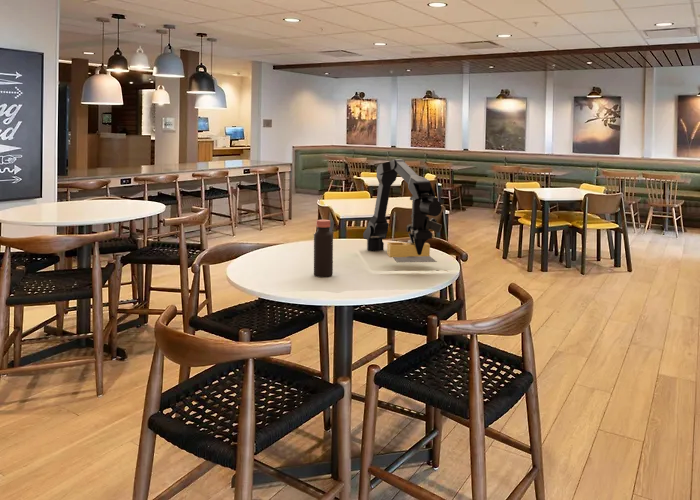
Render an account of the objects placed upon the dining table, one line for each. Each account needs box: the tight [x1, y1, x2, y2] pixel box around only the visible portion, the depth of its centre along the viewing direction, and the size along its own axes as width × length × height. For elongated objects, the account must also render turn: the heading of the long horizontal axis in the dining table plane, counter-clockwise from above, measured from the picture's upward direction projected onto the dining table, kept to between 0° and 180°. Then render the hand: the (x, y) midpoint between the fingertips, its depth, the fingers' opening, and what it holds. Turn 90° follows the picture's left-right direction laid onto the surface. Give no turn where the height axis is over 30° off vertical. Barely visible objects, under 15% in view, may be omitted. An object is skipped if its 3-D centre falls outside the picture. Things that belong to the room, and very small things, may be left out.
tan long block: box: [386, 241, 431, 258], centre depth 234 cm, size 15×6×4 cm, turn 96°
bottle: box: [313, 219, 334, 278], centre depth 220 cm, size 7×7×20 cm
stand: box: [392, 239, 438, 263], centre depth 250 cm, size 16×18×8 cm
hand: (418, 253), depth 235 cm, fingers closed on tan long block, 4 cm apart
